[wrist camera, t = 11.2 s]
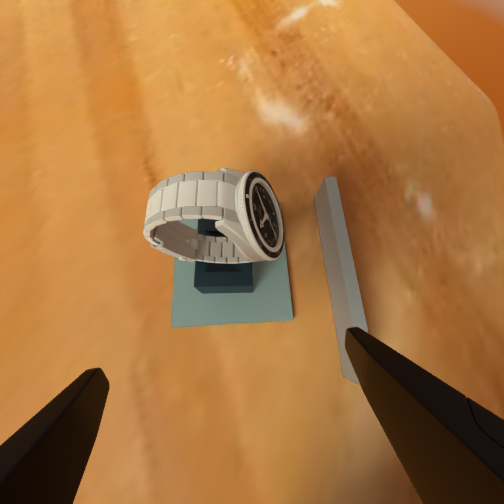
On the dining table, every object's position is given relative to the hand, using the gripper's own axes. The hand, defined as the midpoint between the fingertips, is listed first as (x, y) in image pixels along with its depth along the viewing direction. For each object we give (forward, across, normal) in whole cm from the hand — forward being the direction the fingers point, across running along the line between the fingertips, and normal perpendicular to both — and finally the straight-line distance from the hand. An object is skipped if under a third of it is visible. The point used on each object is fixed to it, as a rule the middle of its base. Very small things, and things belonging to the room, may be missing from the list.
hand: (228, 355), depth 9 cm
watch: (+13, 0, +3) cm, 13 cm away
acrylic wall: (+11, -9, +5) cm, 15 cm away
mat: (+13, 0, +3) cm, 13 cm away
